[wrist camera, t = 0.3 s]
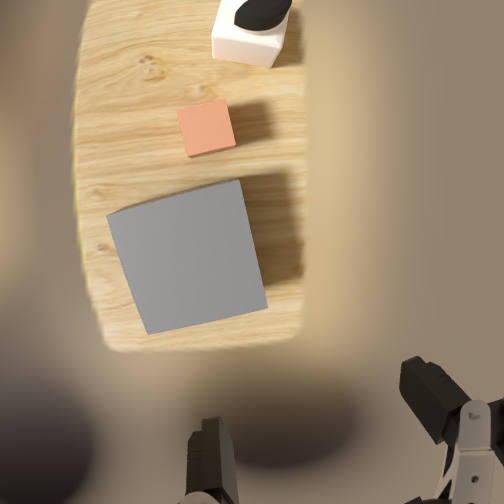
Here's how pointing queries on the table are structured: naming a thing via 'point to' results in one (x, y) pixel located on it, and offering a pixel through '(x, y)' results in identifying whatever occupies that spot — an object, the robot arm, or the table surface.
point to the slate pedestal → (189, 257)
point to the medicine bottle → (250, 31)
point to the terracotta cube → (206, 128)
